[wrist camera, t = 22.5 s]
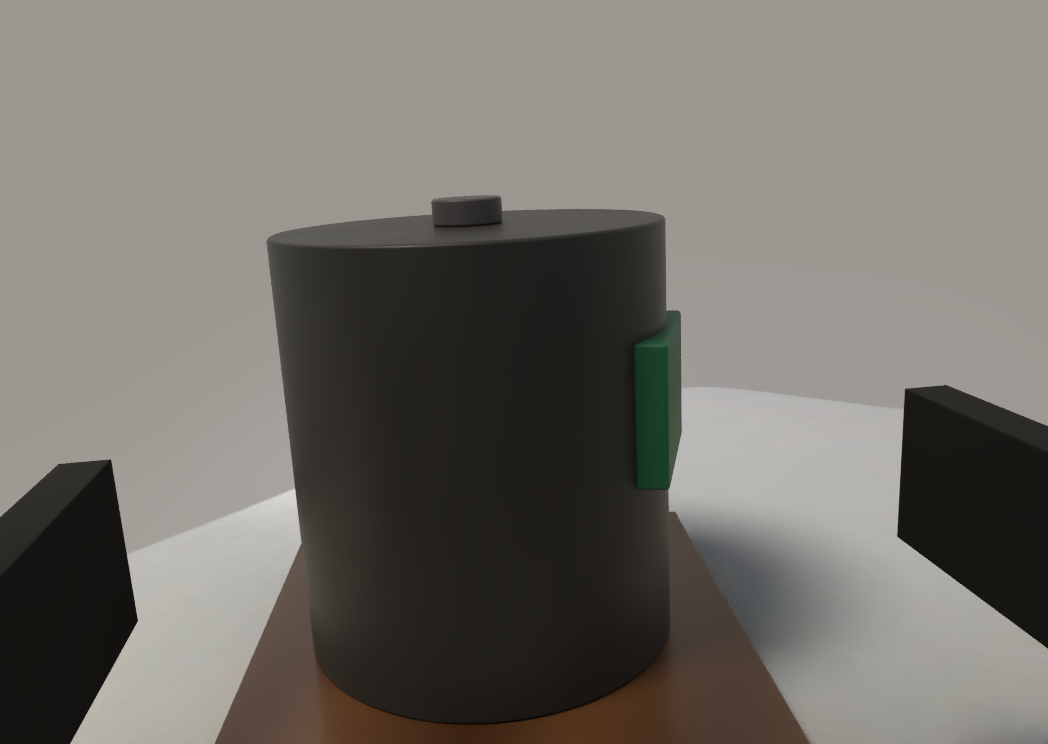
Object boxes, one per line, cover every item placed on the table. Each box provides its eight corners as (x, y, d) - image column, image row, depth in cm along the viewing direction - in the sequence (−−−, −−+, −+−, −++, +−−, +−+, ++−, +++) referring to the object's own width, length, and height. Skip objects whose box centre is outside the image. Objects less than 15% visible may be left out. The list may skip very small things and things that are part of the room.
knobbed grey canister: (243, 703, 20) (176, 219, 17) (393, 535, 28) (362, 194, 26) (661, 747, 18) (653, 202, 15) (688, 551, 26) (686, 181, 24)
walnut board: (195, 834, 17) (189, 798, 17) (306, 560, 29) (303, 536, 29) (812, 781, 18) (813, 747, 17) (675, 533, 29) (675, 511, 29)
